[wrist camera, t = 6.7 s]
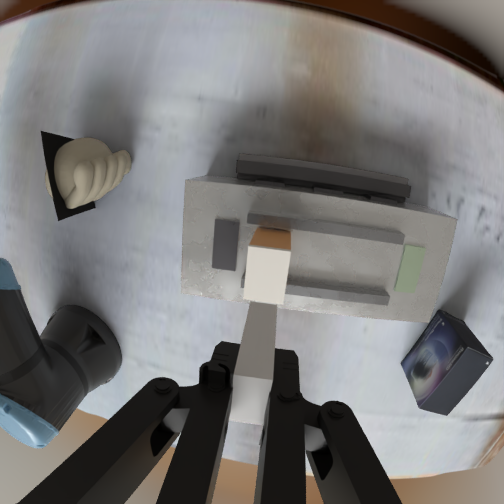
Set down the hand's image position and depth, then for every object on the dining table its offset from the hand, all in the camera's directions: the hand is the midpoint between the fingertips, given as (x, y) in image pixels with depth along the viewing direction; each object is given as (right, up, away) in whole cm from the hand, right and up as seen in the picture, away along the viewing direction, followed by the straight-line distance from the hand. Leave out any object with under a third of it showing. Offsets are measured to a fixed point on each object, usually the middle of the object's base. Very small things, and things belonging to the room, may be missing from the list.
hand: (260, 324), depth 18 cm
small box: (+27, -10, +23) cm, 36 cm away
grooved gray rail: (+8, +13, +18) cm, 23 cm away
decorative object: (-20, +16, +21) cm, 33 cm away
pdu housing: (+7, +6, +20) cm, 22 cm away
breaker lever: (+1, +4, +13) cm, 13 cm away
